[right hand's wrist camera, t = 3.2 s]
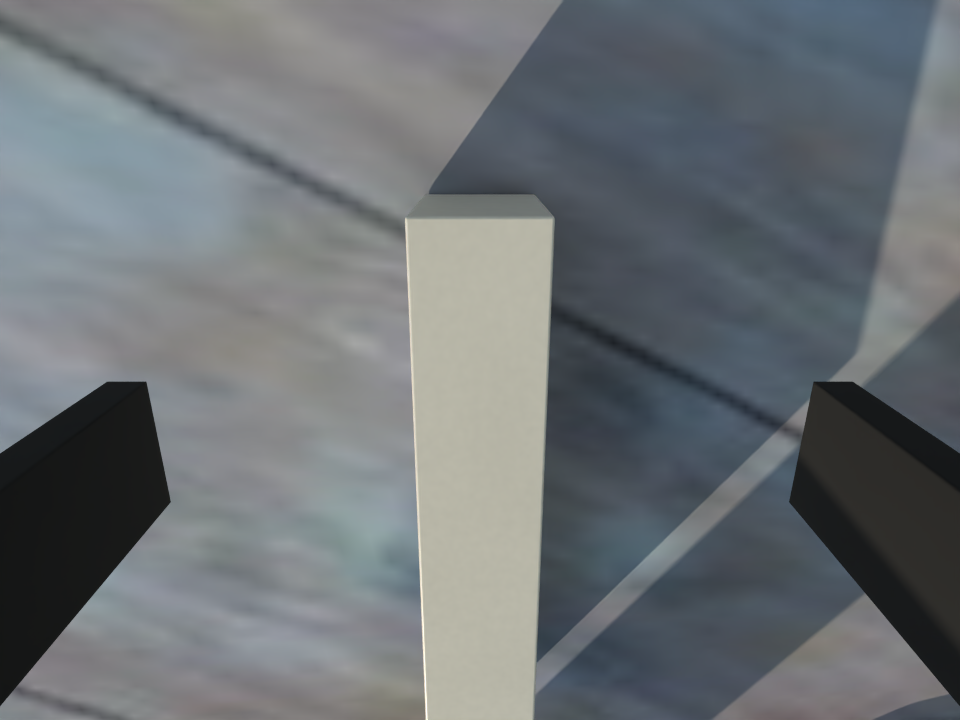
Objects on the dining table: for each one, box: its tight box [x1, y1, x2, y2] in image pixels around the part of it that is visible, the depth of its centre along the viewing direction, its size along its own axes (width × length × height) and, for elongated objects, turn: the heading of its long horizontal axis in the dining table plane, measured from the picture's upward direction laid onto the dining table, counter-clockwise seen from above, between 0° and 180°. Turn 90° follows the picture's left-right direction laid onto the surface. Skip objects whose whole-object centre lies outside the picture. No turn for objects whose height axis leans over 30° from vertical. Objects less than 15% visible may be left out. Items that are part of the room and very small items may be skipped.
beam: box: [405, 194, 555, 720], centre depth 26 cm, size 26×4×7 cm, turn 0°
